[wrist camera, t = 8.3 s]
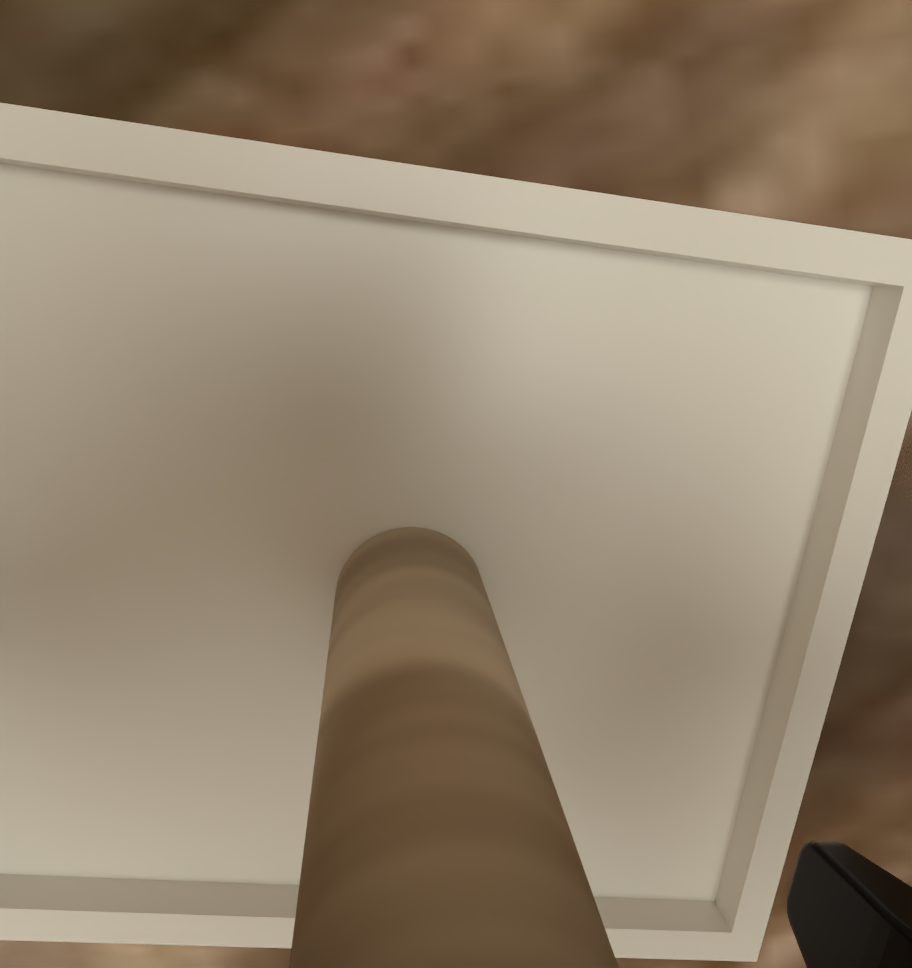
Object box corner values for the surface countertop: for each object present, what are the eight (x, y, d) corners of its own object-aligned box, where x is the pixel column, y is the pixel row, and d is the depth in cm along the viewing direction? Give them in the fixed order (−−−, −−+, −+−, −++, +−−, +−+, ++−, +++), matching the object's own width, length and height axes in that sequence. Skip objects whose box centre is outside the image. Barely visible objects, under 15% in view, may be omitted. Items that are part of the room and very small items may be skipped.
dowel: (472, 667, 16) (671, 1465, 5) (329, 658, 15) (228, 1502, 5) (492, 533, 15) (774, 1151, 4) (342, 520, 15) (255, 1165, 4)
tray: (728, 909, 19) (756, 961, 17) (-32, 881, 17) (-71, 938, 15) (902, 250, 15) (957, 246, 13) (-64, 107, 13) (-122, 83, 11)
